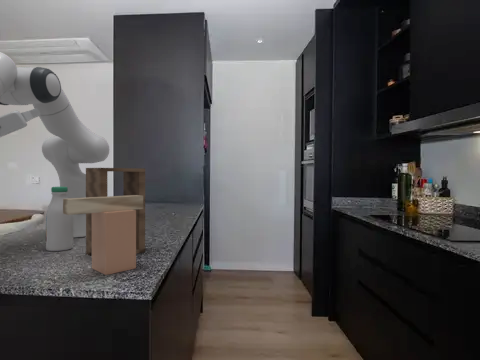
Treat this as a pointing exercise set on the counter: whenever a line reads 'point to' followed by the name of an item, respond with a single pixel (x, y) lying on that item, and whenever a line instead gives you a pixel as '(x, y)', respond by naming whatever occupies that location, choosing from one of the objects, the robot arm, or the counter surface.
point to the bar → (101, 204)
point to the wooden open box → (131, 186)
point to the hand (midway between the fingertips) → (32, 114)
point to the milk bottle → (58, 222)
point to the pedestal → (114, 241)
